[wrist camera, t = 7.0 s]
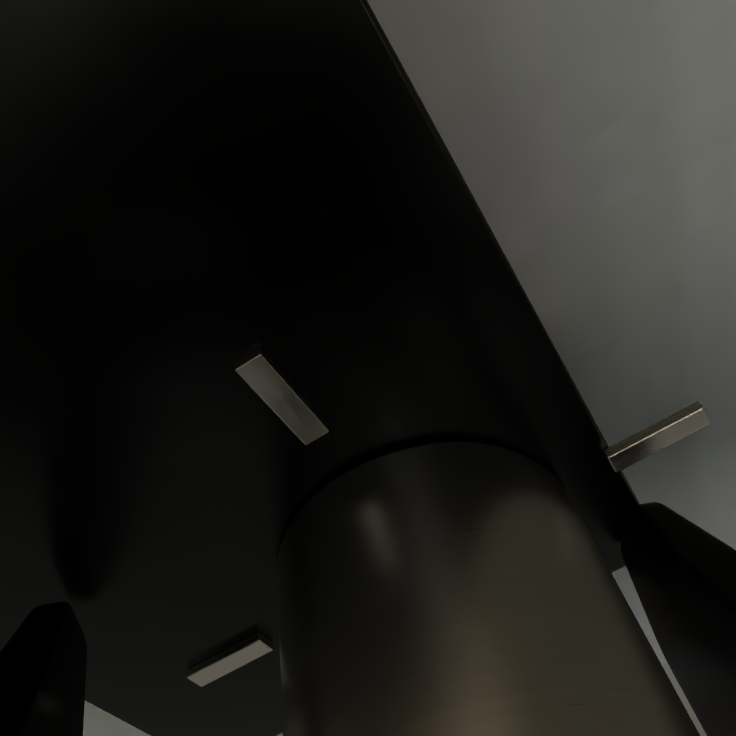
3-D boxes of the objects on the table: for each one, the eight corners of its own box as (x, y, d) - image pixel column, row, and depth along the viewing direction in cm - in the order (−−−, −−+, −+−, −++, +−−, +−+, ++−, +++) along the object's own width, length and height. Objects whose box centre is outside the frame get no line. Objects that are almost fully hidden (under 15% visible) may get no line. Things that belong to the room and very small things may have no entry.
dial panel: (674, 452, 14) (771, 577, 11) (265, 662, 16) (269, 809, 13) (278, -411, 6) (297, -630, 4) (-398, 186, 8) (-685, 310, 6)
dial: (376, 679, 11) (443, 1079, 8) (211, 544, 9) (181, 1023, 5) (613, 563, 11) (826, 947, 7) (497, 381, 8) (722, 807, 4)
